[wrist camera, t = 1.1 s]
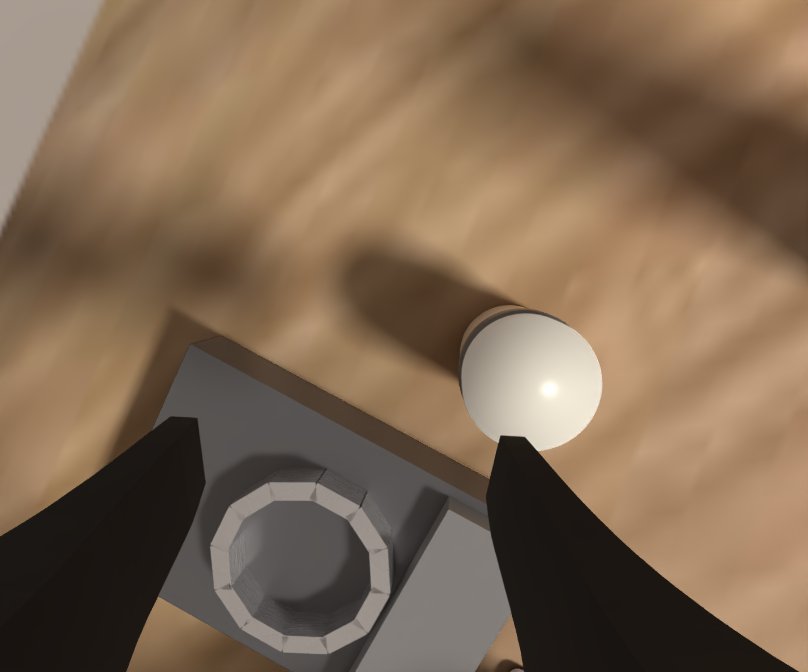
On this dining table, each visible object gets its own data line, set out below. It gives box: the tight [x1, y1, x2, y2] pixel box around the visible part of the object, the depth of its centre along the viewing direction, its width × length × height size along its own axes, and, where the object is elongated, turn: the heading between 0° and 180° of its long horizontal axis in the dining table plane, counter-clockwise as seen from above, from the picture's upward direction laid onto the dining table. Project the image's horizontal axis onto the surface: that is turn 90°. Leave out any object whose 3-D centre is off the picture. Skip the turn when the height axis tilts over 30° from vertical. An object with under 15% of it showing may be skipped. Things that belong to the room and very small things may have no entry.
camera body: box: [152, 336, 511, 672], centre depth 23 cm, size 18×12×4 cm, turn 63°
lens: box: [458, 305, 602, 451], centre depth 20 cm, size 5×5×7 cm
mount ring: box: [210, 468, 395, 654], centre depth 21 cm, size 8×8×2 cm
